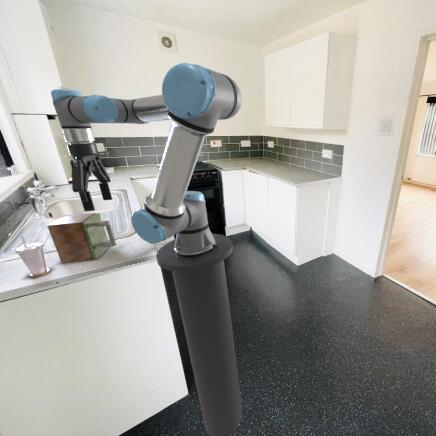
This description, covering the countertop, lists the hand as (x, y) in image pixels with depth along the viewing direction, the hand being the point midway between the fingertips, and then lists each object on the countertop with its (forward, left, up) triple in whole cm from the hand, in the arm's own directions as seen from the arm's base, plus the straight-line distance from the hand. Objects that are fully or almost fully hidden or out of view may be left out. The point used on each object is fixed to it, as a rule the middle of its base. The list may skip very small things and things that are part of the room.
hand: (99, 205), depth 87 cm
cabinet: (+12, -4, -20) cm, 24 cm away
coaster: (+20, +7, -20) cm, 29 cm away
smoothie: (+20, +7, -20) cm, 29 cm away
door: (+3, -4, -20) cm, 21 cm away
